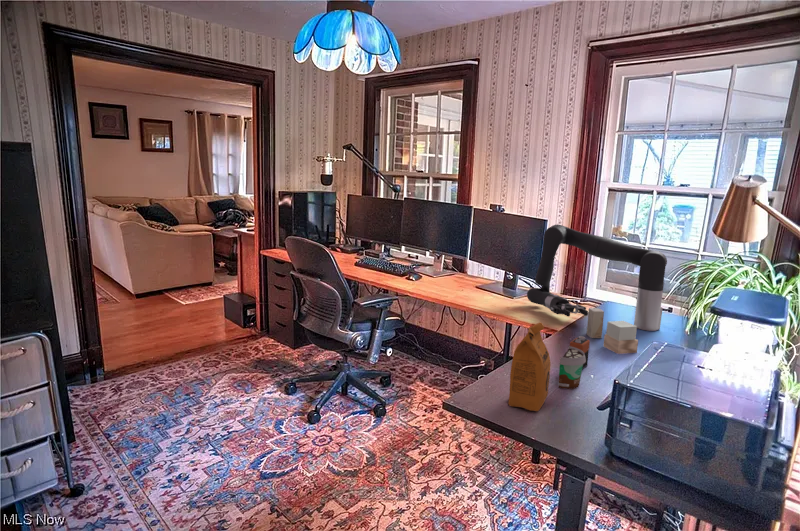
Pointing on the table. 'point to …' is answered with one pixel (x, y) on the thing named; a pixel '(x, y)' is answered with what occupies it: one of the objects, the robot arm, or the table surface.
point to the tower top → (621, 330)
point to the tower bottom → (620, 345)
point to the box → (595, 323)
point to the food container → (571, 368)
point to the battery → (581, 346)
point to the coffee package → (530, 371)
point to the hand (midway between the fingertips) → (578, 313)
